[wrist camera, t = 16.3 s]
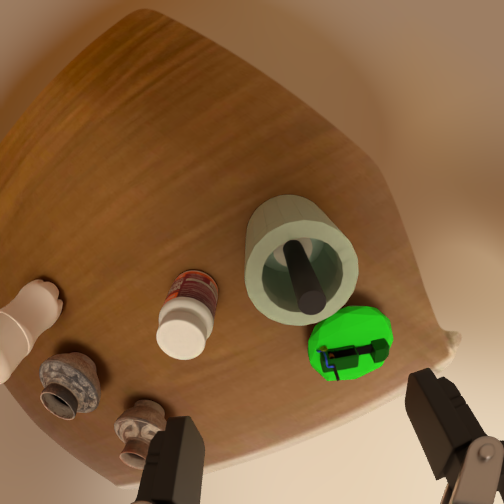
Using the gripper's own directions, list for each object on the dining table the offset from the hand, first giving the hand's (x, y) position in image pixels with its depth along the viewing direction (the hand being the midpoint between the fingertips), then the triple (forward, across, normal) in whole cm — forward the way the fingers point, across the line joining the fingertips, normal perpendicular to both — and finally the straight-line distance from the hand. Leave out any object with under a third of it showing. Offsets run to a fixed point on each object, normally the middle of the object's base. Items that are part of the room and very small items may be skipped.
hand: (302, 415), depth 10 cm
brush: (+29, -2, +4) cm, 30 cm away
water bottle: (+30, +35, +6) cm, 46 cm away
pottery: (+30, +31, +25) cm, 49 cm away
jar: (+30, -2, +4) cm, 30 cm away
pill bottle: (+30, +11, +9) cm, 33 cm away
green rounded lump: (+30, -8, +19) cm, 36 cm away
